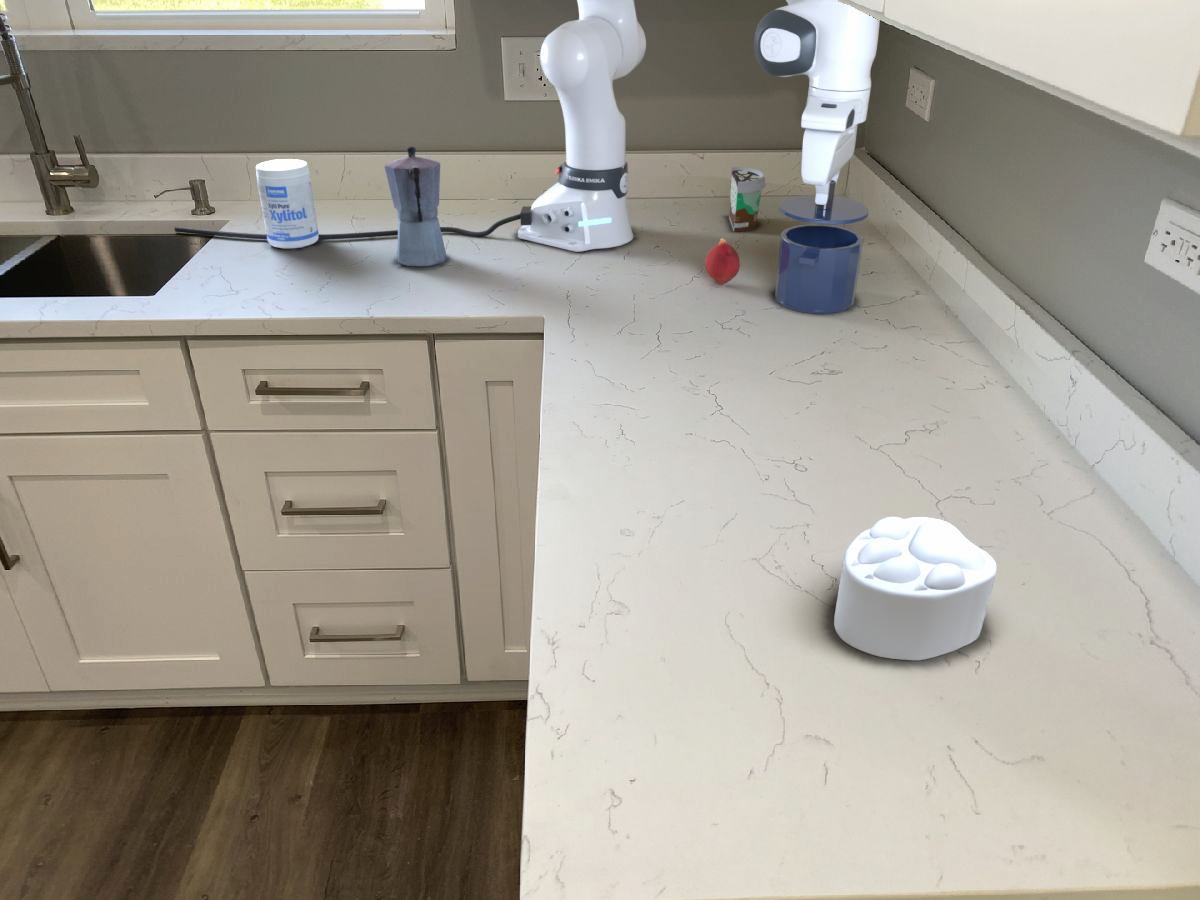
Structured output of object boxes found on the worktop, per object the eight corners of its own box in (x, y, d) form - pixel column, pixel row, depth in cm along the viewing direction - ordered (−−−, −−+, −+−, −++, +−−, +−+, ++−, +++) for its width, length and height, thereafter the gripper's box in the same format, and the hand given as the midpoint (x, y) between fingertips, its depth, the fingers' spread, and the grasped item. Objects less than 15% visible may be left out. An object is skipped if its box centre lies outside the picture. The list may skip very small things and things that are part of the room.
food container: (766, 233, 181) (770, 182, 175) (734, 233, 181) (738, 182, 175) (757, 215, 191) (761, 166, 186) (728, 215, 191) (731, 166, 186)
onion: (737, 279, 159) (741, 233, 155) (738, 291, 155) (742, 244, 150) (703, 277, 160) (706, 232, 156) (703, 290, 155) (706, 243, 151)
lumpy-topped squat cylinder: (997, 636, 83) (1019, 559, 78) (876, 676, 78) (892, 597, 74) (921, 569, 91) (937, 496, 86) (808, 602, 87) (819, 527, 82)
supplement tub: (275, 253, 172) (260, 173, 165) (262, 239, 179) (247, 162, 172) (327, 244, 176) (314, 166, 169) (312, 231, 183) (299, 155, 176)
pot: (761, 312, 147) (767, 248, 141) (790, 275, 161) (797, 216, 155) (840, 325, 142) (849, 259, 137) (863, 286, 156) (872, 225, 151)
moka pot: (442, 245, 176) (432, 137, 165) (457, 272, 163) (447, 156, 153) (391, 250, 173) (378, 141, 163) (403, 278, 160) (389, 161, 150)
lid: (768, 221, 142) (771, 187, 139) (791, 198, 152) (795, 166, 149) (857, 233, 137) (863, 198, 134) (875, 208, 147) (880, 175, 145)
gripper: (831, 92, 145) (820, 181, 152) (798, 117, 129) (787, 215, 137) (872, 96, 143) (858, 185, 150) (843, 122, 127) (829, 220, 134)
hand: (824, 200), depth 143 cm, fingers closed on lid, 2 cm apart
